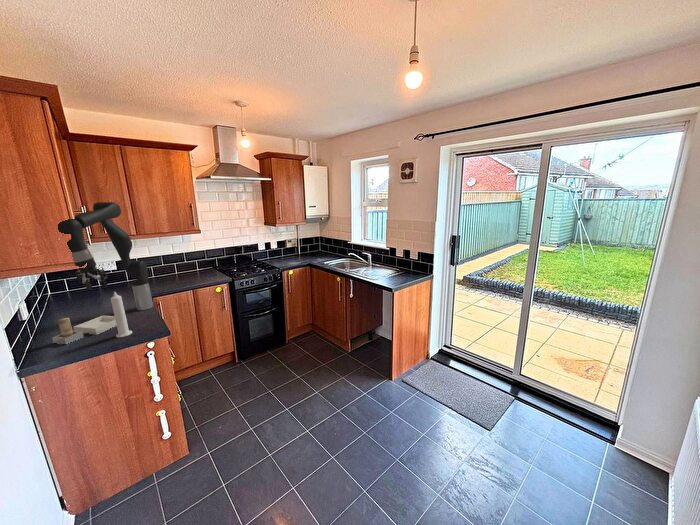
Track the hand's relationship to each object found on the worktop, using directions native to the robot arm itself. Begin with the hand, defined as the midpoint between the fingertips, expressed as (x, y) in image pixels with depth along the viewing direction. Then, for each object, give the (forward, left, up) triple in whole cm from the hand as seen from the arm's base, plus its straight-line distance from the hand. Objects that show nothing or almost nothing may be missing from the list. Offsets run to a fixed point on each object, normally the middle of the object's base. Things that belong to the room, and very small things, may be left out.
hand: (97, 288), depth 147 cm
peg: (-6, -19, -28) cm, 35 cm away
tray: (-19, -10, -28) cm, 35 cm away
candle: (0, +6, -28) cm, 29 cm away
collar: (-6, -19, -28) cm, 35 cm away
